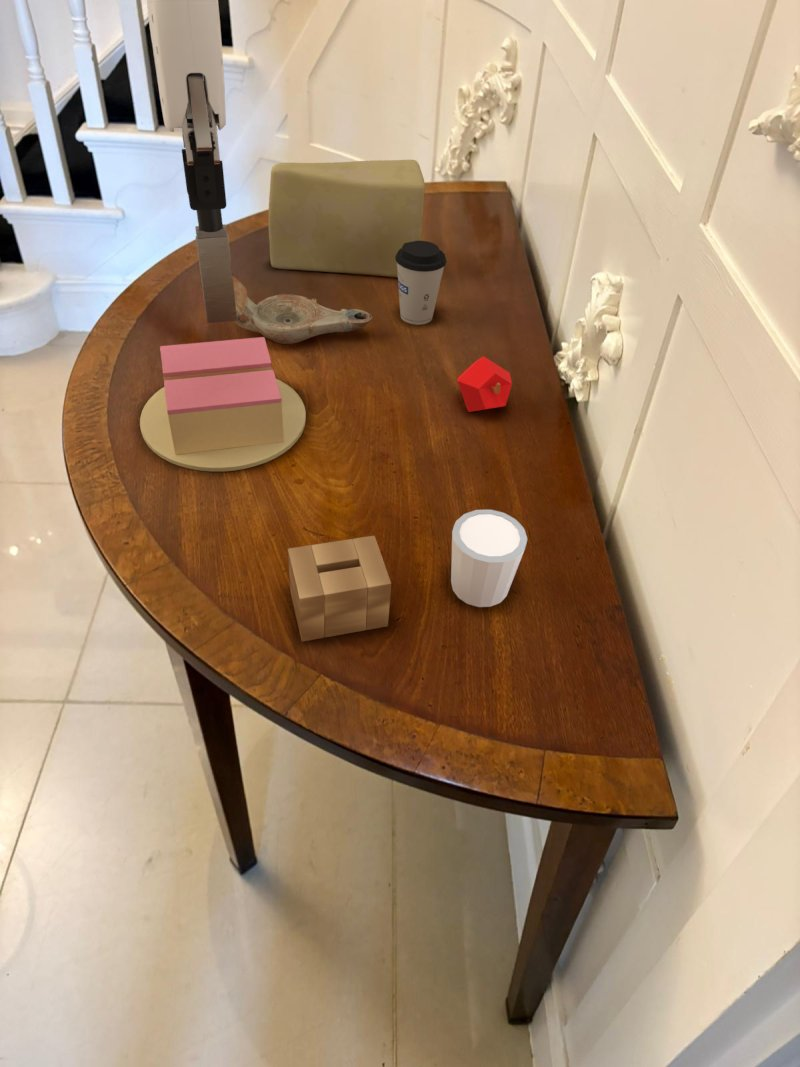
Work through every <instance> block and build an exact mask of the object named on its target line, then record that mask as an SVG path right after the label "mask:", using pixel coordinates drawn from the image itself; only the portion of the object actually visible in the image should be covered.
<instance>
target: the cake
mask: <svg viewBox="0 0 800 1067" xmlns="http://www.w3.org/2000/svg"><path fill="white" fill-rule="evenodd" d="M159 349H160V359H161V367H162V375H163V387H161V388H160V389H158V390H157V391H156V392H155V393H153V395H152V396H150V398H149V399H148V400H147V402H146V403H145V405H144V406H143V409H142V410H141V414H140V417H139V426H140V432H141V436H142V439H143V442H145V444H146V446H148V448H149V449H150V450H151V451H152V452H153V453H154V454H155V455H156V456H158V457H159V458H161V459H163V460H164V461H167V462H168V463H170V464H172V465H175V466H178V467H182V468H186V469H188V470H194V471H200V472H212V473H213V472H219V473H220V472H223V473H224V472H232V471H233V472H234V471H239V470H246V469H250V468H254V467H257V466H261V465H263V464H266V463H268V462H271V461H272V460H274V459H277V458H278V457H280V456H282V455H283V454H285V453H286V452H288V450H290V449H291V448H292V447H293V446H294V445H295V444H297V442H298V440H299V439H300V438H301V436H302V434H303V432H304V431H305V426H306V422H307V412H306V407H305V404H304V401H303V400H302V398H301V396H300V395H299V394H298V393H297V392H296V391H295V390H294V389H293V388H292V387H291V386H290V385H288V384H287V383H285V382H283V381H282V380H280V379H277V377H276V374H275V370H274V369H273V364H272V360H271V355H270V352H269V349H268V345H267V342H266V337H264V336H260V337H249V338H238V339H226V340H214V341H203V342H192V343H181V344H169V345H160V346H159Z"/></svg>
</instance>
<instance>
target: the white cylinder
mask: <svg viewBox="0 0 800 1067" xmlns="http://www.w3.org/2000/svg"><path fill="white" fill-rule="evenodd" d="M527 542H528V536H527V533H526V529H525V528H524V527H523V525H522V524H521V523H520V522H519V521H518V519H516V518H515V517H512V516H511V515H509V514H507V513H506V512H502V511H499V510H495V509H474V510H472V511H468V512H466V513H464V514H462V515H461V516H460V517H459V518H458V519H457V520H455V522H454V524H453V527H452V531H451V563H450V564H451V565H450V566H451V569H450V583H451V589H452V591H453V593H454V594H455V596H456V597H457V598H458V599H459V600H461V601H462V602H463V603H465V604H467V605H469V606H473V607H477V608H491V607H494V606H496V605H499V604H501V603H502V602H503V601H504V600H505V599H506V597H508V593H509V591H510V588H511V586H512V584H513V581H514V579H515V576H516V574H517V570H518V569H519V566H520V562H521V561H522V558H523V555H524V554H525V553H524V552H525V550H526V547H527Z"/></svg>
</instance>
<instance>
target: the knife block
mask: <svg viewBox="0 0 800 1067" xmlns="http://www.w3.org/2000/svg"><path fill="white" fill-rule="evenodd" d="M287 558H288V561H287V562H288V576H289V592H290V596H291V601H292V606H293V610H294V614H295V618H296V623H297V628H298V631H299V637H300V641H301V643H302V642H309V641H313V640H319V639H324V638H330V637H336V636H341V635H346V634H353V633H359V632H364V631H370V630H375V629H382V628H387V627H389V617H390V606H391V591H392V581H391V578H390V575H389V572H388V570H387V566H386V564H385V561H384V558H383V555H382V552H381V550H380V547H379V544H378V541H377V538H376V535H368V536H362V537H356V538H355V537H354V538H349V539H343V540H342V539H341V540H335V541H329V542H323V543H316V544H309V545H303V546H296V547H290V548H287Z"/></svg>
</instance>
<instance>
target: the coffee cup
mask: <svg viewBox="0 0 800 1067" xmlns="http://www.w3.org/2000/svg"><path fill="white" fill-rule="evenodd" d="M395 259H396V262H397V269H398V278H397V284H398V299H399V300H398V301H399V313H400V314H399V315H400V318H401V320H402V321H403V322H405V323H407V324H410V325H416V326H417V325H418V326H419V325H426V324H428V323H430V322H431V321H432V320H433V316H434V312H435V308H436V304H437V299H438V295H439V290H440V287H441V282H442V279H443V278H442V277H443V275H444V274H443V273H444V270H445V266H446V265H447V257H446V254H445V253H444V252H443V250H441V249H440V248H439V246H438V245H437V244H436V243H434V242H431V241H426V240H421V241H412V242H407V243H404V245H403V246H402V248H401V249H399V251H398V252H397V254H396V256H395Z"/></svg>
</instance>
